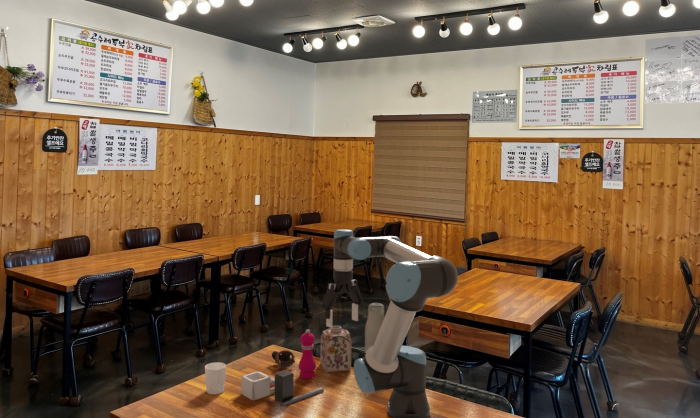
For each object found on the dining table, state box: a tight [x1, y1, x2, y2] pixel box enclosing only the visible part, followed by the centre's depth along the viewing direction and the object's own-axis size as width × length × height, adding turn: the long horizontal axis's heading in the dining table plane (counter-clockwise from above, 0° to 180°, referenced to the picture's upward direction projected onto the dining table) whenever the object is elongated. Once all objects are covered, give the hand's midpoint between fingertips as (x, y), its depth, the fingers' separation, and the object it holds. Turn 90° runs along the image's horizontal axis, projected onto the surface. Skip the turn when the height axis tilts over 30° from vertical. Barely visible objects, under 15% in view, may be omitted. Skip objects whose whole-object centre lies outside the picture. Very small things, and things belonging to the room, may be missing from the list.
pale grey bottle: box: [364, 302, 385, 354], centre depth 232 cm, size 10×10×28 cm
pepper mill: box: [298, 329, 317, 380], centre depth 218 cm, size 7×7×20 cm
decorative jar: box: [319, 325, 352, 373], centre depth 229 cm, size 12×12×18 cm
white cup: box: [204, 361, 227, 395], centre depth 202 cm, size 8×8×10 cm
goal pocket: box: [240, 370, 271, 402], centre depth 200 cm, size 8×8×7 cm
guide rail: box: [279, 387, 325, 408], centre depth 197 cm, size 1×20×1 cm, turn 134°
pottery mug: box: [271, 349, 296, 371], centre depth 230 cm, size 12×10×8 cm
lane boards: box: [269, 377, 295, 396], centre depth 207 cm, size 8×12×2 cm
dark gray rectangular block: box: [261, 369, 295, 403], centre depth 199 cm, size 16×5×10 cm, turn 44°
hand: (342, 323), depth 203 cm, fingers open, 13 cm apart
